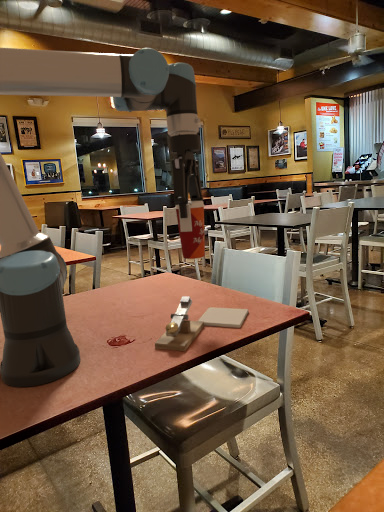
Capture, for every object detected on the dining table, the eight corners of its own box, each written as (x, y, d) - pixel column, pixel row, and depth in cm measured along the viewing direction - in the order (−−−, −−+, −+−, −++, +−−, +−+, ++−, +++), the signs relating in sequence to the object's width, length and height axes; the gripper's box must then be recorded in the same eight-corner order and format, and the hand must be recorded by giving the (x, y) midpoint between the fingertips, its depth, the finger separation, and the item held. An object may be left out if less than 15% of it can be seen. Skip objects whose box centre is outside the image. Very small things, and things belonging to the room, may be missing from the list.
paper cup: (206, 259, 89) (202, 201, 87) (176, 260, 91) (170, 204, 88) (210, 252, 97) (206, 199, 94) (182, 254, 98) (177, 201, 96)
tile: (240, 327, 88) (239, 324, 88) (197, 324, 92) (196, 321, 92) (248, 312, 99) (248, 309, 98) (209, 309, 102) (209, 307, 102)
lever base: (184, 351, 78) (183, 334, 77) (155, 348, 80) (153, 332, 80) (204, 326, 91) (203, 311, 90) (178, 324, 93) (177, 310, 93)
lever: (179, 338, 79) (178, 331, 78) (163, 336, 81) (161, 330, 80) (195, 302, 89) (194, 296, 88) (180, 302, 90) (178, 296, 90)
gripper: (184, 128, 77) (193, 234, 82) (209, 137, 96) (216, 222, 101) (152, 132, 79) (162, 236, 84) (183, 140, 99) (190, 224, 103)
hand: (191, 228), depth 92 cm, fingers closed on paper cup, 8 cm apart
